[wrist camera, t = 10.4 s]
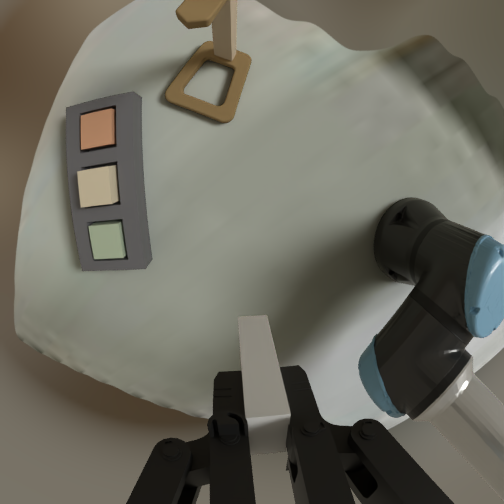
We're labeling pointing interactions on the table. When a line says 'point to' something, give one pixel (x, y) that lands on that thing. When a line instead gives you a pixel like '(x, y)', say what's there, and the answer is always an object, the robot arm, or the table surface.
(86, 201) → the sand key
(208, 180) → the table surface
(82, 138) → the terracotta key
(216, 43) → the headphone stand
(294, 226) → the table surface
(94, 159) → the keypad
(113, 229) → the sage key
